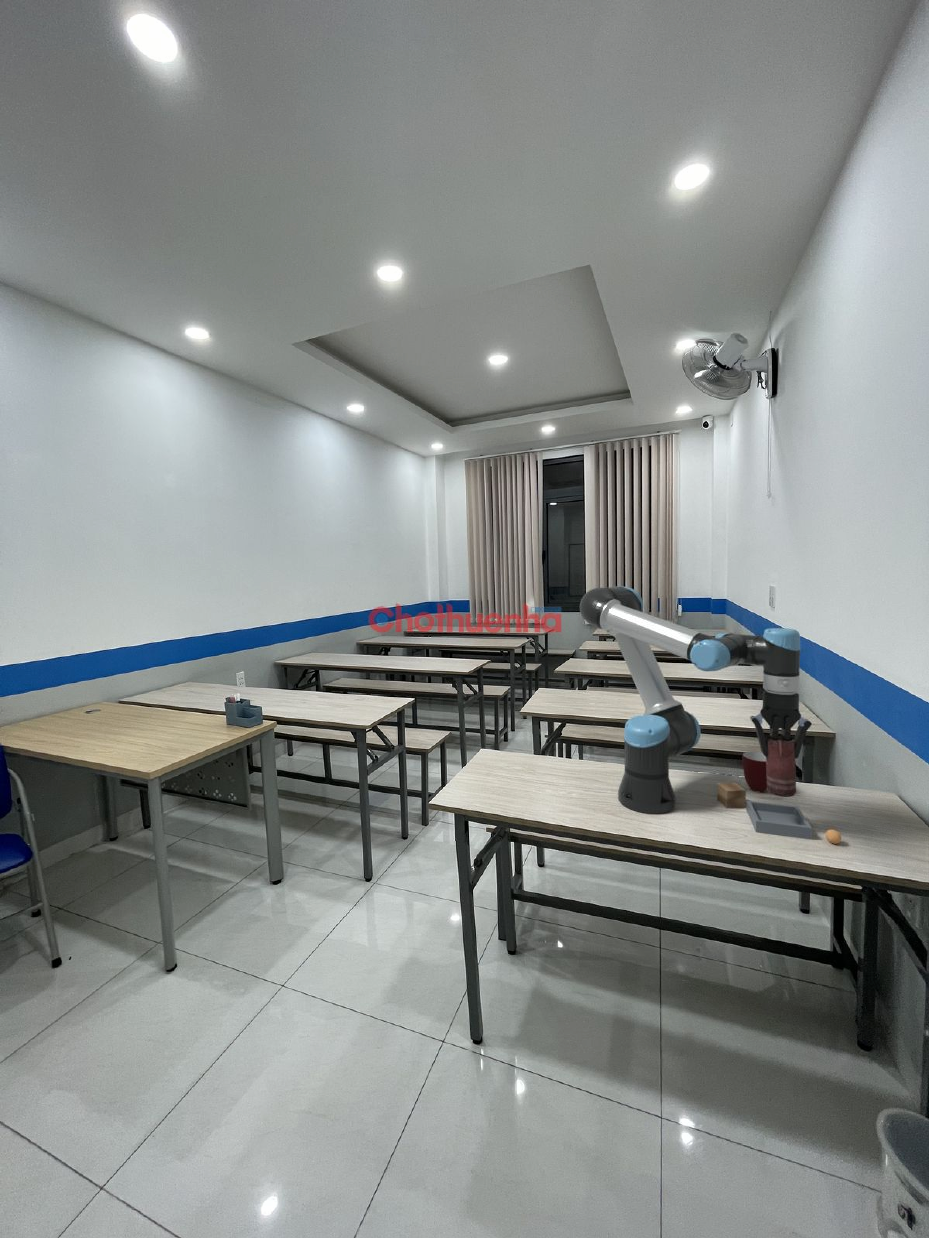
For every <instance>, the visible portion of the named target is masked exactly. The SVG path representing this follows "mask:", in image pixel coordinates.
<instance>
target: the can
mask: <svg viewBox="0 0 929 1238" xmlns="http://www.w3.org/2000/svg"><path fill="white" fill-rule="evenodd" d="M765 740H766V744H767V748H768V756H766V773H767V791H768V792H769V793H770V794H771V795H773V796H776V797H777V796H778V797H781V798H790V797H794V796H795V795H796V794H797V777H796V776H797V775H796V759H795V743H794V739H793V737H791V736H790V741H784V740H783V738H782V734H778V740H777V741H775V740H771V738H770V734H769V735H767V736H766V737H765Z"/></svg>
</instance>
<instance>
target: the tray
mask: <svg viewBox="0 0 929 1238" xmlns="http://www.w3.org/2000/svg"><path fill="white" fill-rule="evenodd" d="M746 812H747V815H748V817H749V820H750V823H751V824H752V826H753V828H754V831H755V833H760V834H769V835H776V836H782V837H791V838H798V839H805V840H812V839H813V827H812V826H811V824H810V823H809V821H808V820H807V818H806V817H805V815H804V814H803V812H802V811H801V809H800V808H799V806H798V805H789V804H779V803H773V802H772V803H771V802H763V801H762V802H761V801H754V800H746Z"/></svg>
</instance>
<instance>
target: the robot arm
mask: <svg viewBox="0 0 929 1238" xmlns="http://www.w3.org/2000/svg"><path fill="white" fill-rule="evenodd" d="M643 609H644V602H643V599H642V597H641V595H640V594H639V593H638V591H636V589H633V588H631V587H627V586H622V585H621V586H620V585H619V586H618V585H617V586H614V587H612V586H611V587H595V588H593V589H590V590H588V591H587V592H586V593H585V594H584V595H583V596H582V598H581V600H580V602H579V612H580V614H581V617H582V619H583V620H584V621H585V622H586V623H588V624H589V625H590V626H593V627H596V628H599V629H600V630H602V631H605V632H607V634H608V635H610V636H612V637H614V638H615V640H616V642H617V646H618V648H619V650H620V653H621V654H622V657H623V658H624V659H623V660H624V661H625V664H626V666H627V668H628V671H629V673H630V675H631V677H632V681H633V682H634V684H635V688H636V690H637V692H638V694H639V696H640V699H641V702H642V703H643V705H644V709H645V710H644V713H643V715H641V714H640V715H636V716H633V717H631V718H629V719H628V720H627V721H626V722H625V725H624V731H623V738H624V773H623V776H622V779H621V782H620V784H619V786H618V789H617V790H618V792H617V794H618V801H619V803H620V804H621V805H623V806H624V807H626V808H628V809H629V810H632V811H635V812H639V813H645V814H653V815H654V814H656V815H657V814H665V813H668V812H670V811H671V812H672V810H674V809H675V808H676V794H675V791H674V789H673V786H672V782H671V780H670V771H669V767H670V766H669V765H670V763H669V762H670V761H669V760H671V759H673V758H675V757H677V756H679V755H681V754H685V753H688V752H689V751H691V750H692V749H693V748H695V746H697V745H698V743H699V741H700V738H701V732H702V731H701V726H700V724H699V721H698V720H697V718H696V717H695V715H693V714H691V713H690V712H689V711H686V710H685V708H684V706H683V704H682V702H681V701H678V700H677V699H675V698H674V696H673V694H672V692H671V690H670V688H669V686H668V683H667V681H666V679H665V677H664V674H663V673H662V670H661V668H660V665H659V663H658V661H657V659H656V657H655V654H654V651H653V650H652V647H651V646H653V647H655V648H658V649H660V650H664V651H665V652H667V653H670V654H673V655H675V656H679V657H680V658H683V659H686V660H688V661H690V662H691V663H692V664H693V665H694V667H696V669H698V670H700V671H703V672H718V671H721V670H722V669H727V668H729V667H734V666H735V665H736V666H737V665H740V664H745V665H755V666H762V667H763V679H762V682H763V683H762V688H763V689H764V690H763V691H762V707H761V709H760V712H759V714H757V715H752V716H750V717H749V719H750V720H751V722H752V724H754V728H755V732H756V735H757V739H758V744H759V748H760V752H761V753H763V754H764V756H768V748H767V744H766V737H765V732H764V728H763V727H762V724H763V721H765V722H766V723H767V724H768V726H769V735H770V738H771V740H775V741H777V740H778V735H779V730H780V729H781V735H782V738H783V740H784V741H790V737H791V733H792V728H793V727H794V726H795V724H796V723H797V724H798V726H797V729H796V732H795V736H794V739H793V741H794V743H795V760H797V759H798V758H799V757H800V754H801V750H802V748H803V747H802V746H803V743H804V740H805V737H806V736H807V731H808V730H809V729H810V728H811V726H812V724H813V723H812V721H810V720H809V719H807V718H804V717H802V715H801V712H800V704H799V703H800V694H799V693H798V692H800V674H801V673H800V667H801V665H800V663H801V650H802V647H801V636H800V632H799V631H798V630H796V629H794V628H784V627H783V628H778V627H773V628H766V629H764V632H763V635H754V634H753V635H751V634H739V633H731V632H729V633H718V634H716V635H715V637H714V636H711V635H708V634H705V633H701V632H699V631H698V630H694V629H692V628H688V627H685V626H683V625H680V624H677V623H674V622H671V621H668V620H666V619H662V618H660V617H656V616H653V615H651V614H649V613H646V612H643Z"/></svg>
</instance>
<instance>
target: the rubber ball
mask: <svg viewBox="0 0 929 1238" xmlns="http://www.w3.org/2000/svg"><path fill="white" fill-rule="evenodd" d="M842 838H843V837H842V835H841V833H840V832H839V831H838V830H835V829H828V830H826V832H825V839H826V840H827V841H828V842H830V843H831V844H835V845H836V844H839V843H841V842H842V840H843V839H842Z"/></svg>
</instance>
